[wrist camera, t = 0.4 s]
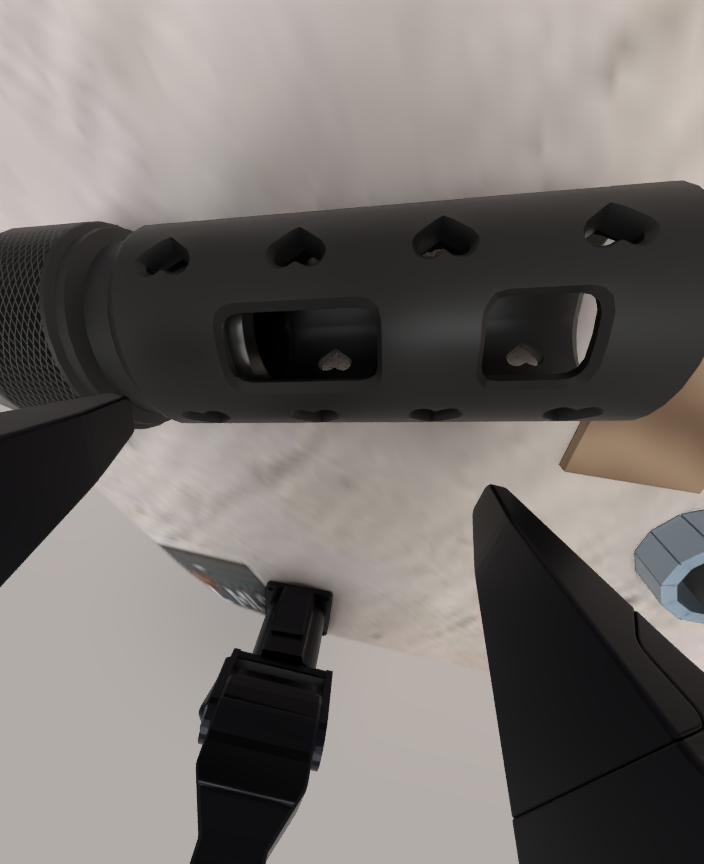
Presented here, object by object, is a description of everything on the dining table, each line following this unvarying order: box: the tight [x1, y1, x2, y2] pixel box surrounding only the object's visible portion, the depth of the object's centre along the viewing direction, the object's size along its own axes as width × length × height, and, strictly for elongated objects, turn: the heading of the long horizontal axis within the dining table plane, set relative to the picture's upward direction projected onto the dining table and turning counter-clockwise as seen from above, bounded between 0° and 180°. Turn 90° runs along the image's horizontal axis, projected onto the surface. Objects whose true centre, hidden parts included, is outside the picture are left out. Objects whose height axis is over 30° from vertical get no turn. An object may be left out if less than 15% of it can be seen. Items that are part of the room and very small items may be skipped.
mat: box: [559, 358, 704, 494], centre depth 21 cm, size 9×9×1 cm
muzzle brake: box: [0, 181, 704, 429], centre depth 16 cm, size 10×28×10 cm, turn 94°
